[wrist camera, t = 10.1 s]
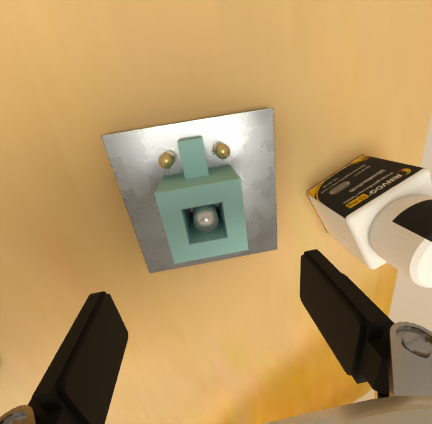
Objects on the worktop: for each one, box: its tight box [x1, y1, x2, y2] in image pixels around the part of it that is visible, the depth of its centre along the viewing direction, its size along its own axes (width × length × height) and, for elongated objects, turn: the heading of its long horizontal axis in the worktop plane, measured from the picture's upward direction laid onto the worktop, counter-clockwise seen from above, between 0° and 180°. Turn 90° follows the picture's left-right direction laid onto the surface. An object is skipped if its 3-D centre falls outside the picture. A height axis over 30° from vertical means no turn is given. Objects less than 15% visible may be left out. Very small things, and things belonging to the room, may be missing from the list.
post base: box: [101, 108, 277, 273], centre depth 20 cm, size 15×15×6 cm
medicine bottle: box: [307, 155, 432, 288], centre depth 19 cm, size 7×7×12 cm
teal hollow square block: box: [154, 136, 248, 264], centre depth 18 cm, size 9×6×5 cm
